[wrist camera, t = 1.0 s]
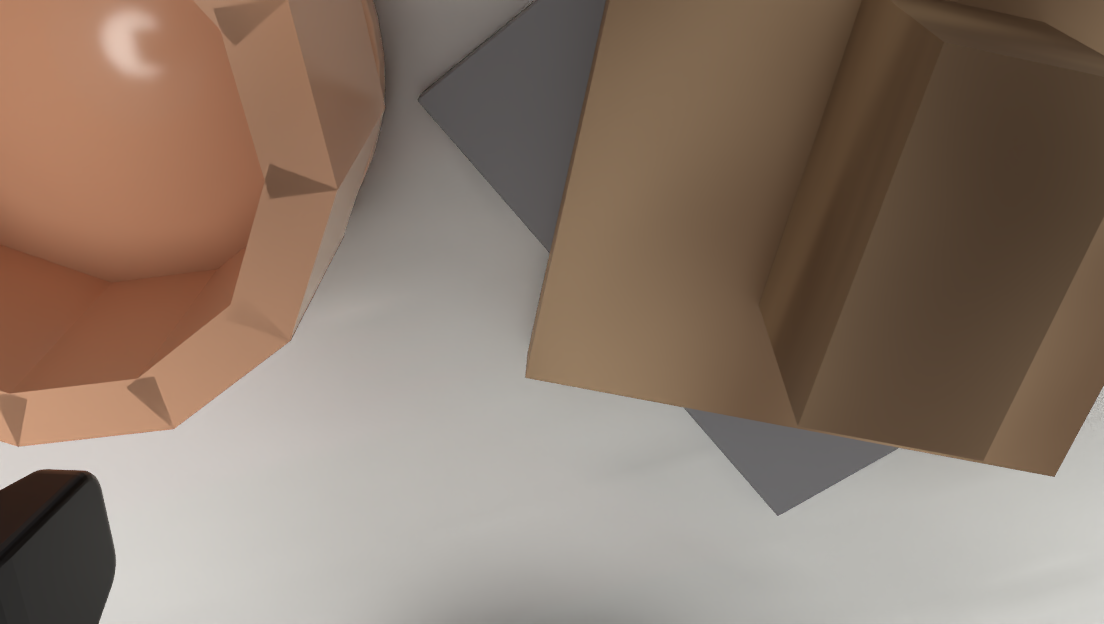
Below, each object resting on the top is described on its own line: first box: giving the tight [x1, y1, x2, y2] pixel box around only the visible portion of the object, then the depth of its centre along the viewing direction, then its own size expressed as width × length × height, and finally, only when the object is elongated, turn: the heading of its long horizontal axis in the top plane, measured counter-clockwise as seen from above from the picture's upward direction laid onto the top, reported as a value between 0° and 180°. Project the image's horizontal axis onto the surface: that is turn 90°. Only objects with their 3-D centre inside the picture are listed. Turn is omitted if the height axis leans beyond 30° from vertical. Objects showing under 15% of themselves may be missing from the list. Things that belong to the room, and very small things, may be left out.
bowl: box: [0, 0, 386, 447], centre depth 17 cm, size 10×10×5 cm
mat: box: [418, 0, 898, 516], centre depth 19 cm, size 12×12×1 cm
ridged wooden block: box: [525, 0, 1104, 477], centre depth 17 cm, size 11×11×5 cm
